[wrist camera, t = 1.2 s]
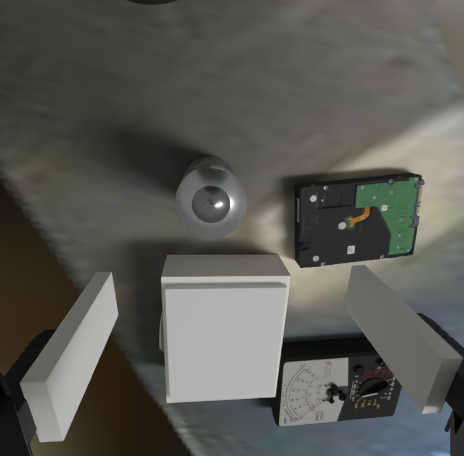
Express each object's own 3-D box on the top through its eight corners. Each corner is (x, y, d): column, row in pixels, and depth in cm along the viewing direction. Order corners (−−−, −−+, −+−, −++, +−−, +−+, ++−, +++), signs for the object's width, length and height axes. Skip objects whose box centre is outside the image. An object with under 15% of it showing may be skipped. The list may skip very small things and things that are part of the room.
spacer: (182, 155, 31) (173, 167, 22) (236, 157, 32) (249, 169, 23) (182, 207, 33) (175, 238, 24) (233, 208, 34) (244, 238, 25)
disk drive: (293, 260, 38) (401, 247, 39) (300, 270, 35) (415, 256, 36) (292, 183, 34) (411, 170, 35) (299, 188, 32) (428, 174, 32)
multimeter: (382, 395, 48) (401, 425, 43) (270, 405, 46) (277, 437, 42) (397, 332, 44) (421, 357, 39) (274, 341, 42) (282, 368, 37)
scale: (160, 254, 35) (152, 281, 29) (278, 254, 37) (292, 279, 31) (165, 368, 41) (159, 409, 35) (266, 364, 43) (276, 402, 37)
